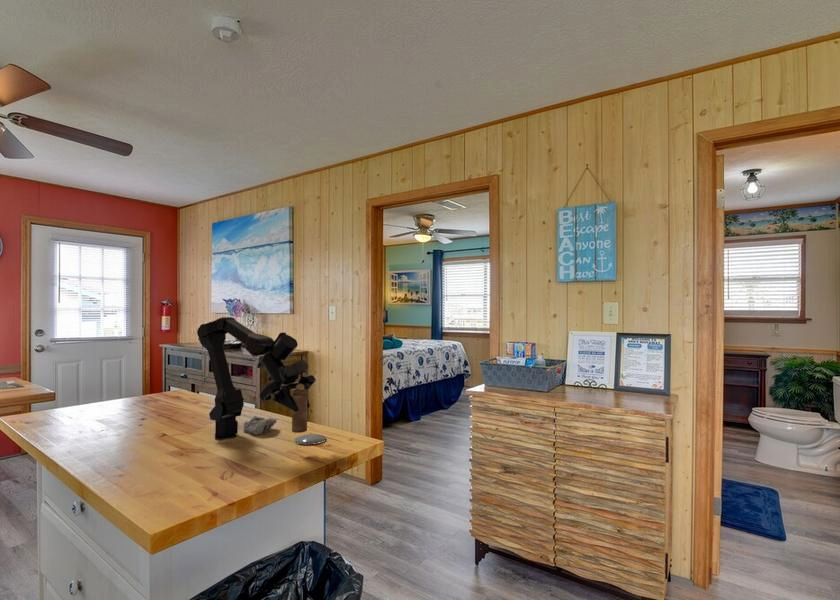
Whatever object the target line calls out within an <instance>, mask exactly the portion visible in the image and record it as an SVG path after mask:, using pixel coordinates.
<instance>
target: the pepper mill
mask: <svg viewBox="0 0 840 600" xmlns="http://www.w3.org/2000/svg"><path fill="white" fill-rule="evenodd" d="M291 396H292V398H293V400H294V401H295V403H296V405H297V407H298V409H299V410H298V411H297V412H295V411H293V410H292V409H291V411H292V414H291V432H292V433H295V434H296V433H297V434H301V433H305V432H307V431H308V409H307V396H308V390H306V389H304V385H303V384H298V385H297V386H296V390H293V393H292V395H291Z"/></svg>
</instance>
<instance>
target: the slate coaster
mask: <svg viewBox="0 0 840 600" xmlns="http://www.w3.org/2000/svg"><path fill="white" fill-rule="evenodd" d="M325 439H326V440H327V437H326V436H325V435H322V434H316V433H315V434H314V433H313V434H312V433H311V434H303V435H300V436H297V437H295V438H294V441H295V442H296V443H299V444H313V443H318V442H322V441H324V440H325ZM294 441H293V442H294ZM295 442H294V443H295ZM296 443H295V444H296Z"/></svg>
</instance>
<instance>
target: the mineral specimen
mask: <svg viewBox="0 0 840 600" xmlns="http://www.w3.org/2000/svg"><path fill="white" fill-rule="evenodd" d="M275 424H277V419H276V418H274V417H269V418H265V417H262V416H257V415H253V416H252V417H251V418H250V419H248V420H246V421H244V423H243V432H244V433H251V434H252V433H253V435H254V434H257V435H262V433H263V434H265V432H266V431H268V430H269V429H272V428H273V426H274V425H275Z"/></svg>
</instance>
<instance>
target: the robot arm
mask: <svg viewBox="0 0 840 600" xmlns="http://www.w3.org/2000/svg"><path fill="white" fill-rule="evenodd" d="M227 334H228V335H230V336H232V337H233V338H235V339H236V340H238V341H239V342H241V343H242V344H243V345H244V347H245V350H246V351H247V352H248V353H249V354H250V355H251V356H253V357H260V356H263V357H262V358H260V359H258V362H257V367H256V368H257V369H262V368H264V369H265V371H266V373H267V375H268V376H269V377H268V378H267V380H268V383H267V384H266V385H265V386H264V387H263V388H262V389H261V390H260V392H259V398H260V399H261V401H262V402H263V403H264V402H265V403H266V402H268V401H271V399H272V395H273V399H272V402H274V403H275V402H276V403H278V404H280V405H282V406H284V407H286V408H288V409H290V410H291V411H292V410H293V411H295V412H297V411H298V410H299V409H298V407H297V405H296V403H295V401H294V400H293V398H292V395H291V390H292V391H294V390H296V386H297V385H298V384H303V385H304V389H306V390H307V391H308V390H309V389H311V387H312V385H314V383H315V382H316V381H317V380H316V378H315V376H314V375H313V374H307V375H303V376H301V377H300V375H302V374H304V373H307V370H308V369H309V364H308V363H307V362H306V361H305V360H304V359H302V360H299V361H297V362H294V363H292V364H290V365H289V364H288V365H286V364H285V362H284V361H285V360H288V358H289V357H290V356H291V355H292V354H293V352H294V351H295V350H296V349H297V347H298V343H299V342H297V339H295V338H294V337H293V336H291V335H289V334H287V333H286V332H279V333H278V336H277V337H276V338H275V340H274V339H273V338H272V337H270V336H267V335H265V334H259V333H256V332H254V331H253V330H251V329H250V328H249V327H247V326H245V325H243V324H242V323H240V322H239V321H237V320H236V319H235V318H234V317H232V316H222V317H221V316H220V318H217V319H216V320H212V321H209V322H206V323H203V324H200V326H198V328H197V331H196V335H197V337H198V339H199V343H200V344H201V345H202V346H203V347H204V349H206V350H207V353H208V357H209V362H210V365H211V369H212V374H213V378H214V381H215V385H216V389H217V391H216V394H215V397H214V407H212V408H211V410H210V411H209V413H208V415H209V419H210V420H211V421H215V423H214V424H215V425H214V426H215V427H214V439H215V440H221V439H222V440H223V439H231V438H236V437H237V435H238V429H239V428H238V425H239V424H238V420H237V417H240V416H241V415H242V411H243V407H244V404H245V403H244V401H245V399H244V397H243V393H242V390H241V388H238V389H237V388H236V386H234V383H233V380H232V376H231V372H230V369H229V368H230V367H229V365H228V360H227V357H226V352H225V348H224V344H225V342H226V340H227V339H226V338H227V336H226V335H227ZM299 378H300V379H299ZM296 380H298V381H296ZM310 407H311V406H310V400H309V396H308V395H307V410H308V409H309V408H310Z"/></svg>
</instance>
